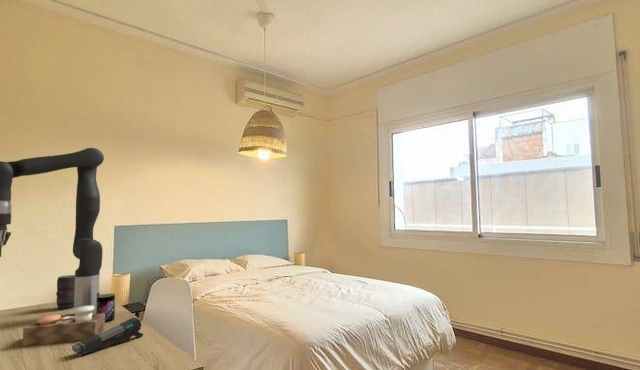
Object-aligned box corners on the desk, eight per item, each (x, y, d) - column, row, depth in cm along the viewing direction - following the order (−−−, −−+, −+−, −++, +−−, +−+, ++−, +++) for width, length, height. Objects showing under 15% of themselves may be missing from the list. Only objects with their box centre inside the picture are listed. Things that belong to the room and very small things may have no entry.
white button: (96, 323, 131) (97, 304, 131) (90, 329, 124) (90, 309, 125) (77, 325, 129) (77, 306, 129) (69, 331, 123) (69, 311, 123)
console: (104, 329, 133) (105, 312, 133) (95, 338, 123) (95, 320, 123) (38, 335, 127) (38, 318, 127) (22, 346, 117) (23, 326, 118)
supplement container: (91, 323, 140) (92, 297, 141) (103, 317, 147) (104, 293, 148) (107, 323, 139) (107, 297, 140) (118, 318, 146) (119, 293, 147)
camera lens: (69, 310, 160) (70, 277, 161) (51, 310, 160) (52, 278, 160) (81, 305, 168) (81, 274, 169) (64, 305, 168) (65, 274, 169)
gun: (146, 336, 124) (137, 312, 122) (87, 376, 108) (75, 349, 106) (140, 333, 126) (131, 310, 124) (81, 372, 111) (70, 346, 109)
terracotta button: (63, 332, 128) (64, 313, 128) (54, 339, 121) (55, 319, 122) (42, 334, 126) (43, 315, 126) (32, 341, 120) (33, 321, 120)
